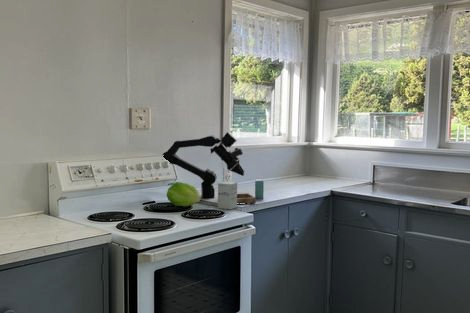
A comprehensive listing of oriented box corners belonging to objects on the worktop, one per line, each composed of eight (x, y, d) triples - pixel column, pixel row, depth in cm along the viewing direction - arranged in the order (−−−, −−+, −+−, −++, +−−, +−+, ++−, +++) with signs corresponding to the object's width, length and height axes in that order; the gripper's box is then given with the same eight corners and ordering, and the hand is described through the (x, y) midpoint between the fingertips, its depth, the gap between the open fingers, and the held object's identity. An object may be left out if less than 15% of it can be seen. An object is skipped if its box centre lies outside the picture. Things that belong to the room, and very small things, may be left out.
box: (231, 204, 238) (231, 199, 238) (225, 199, 251) (224, 194, 250) (255, 203, 242) (255, 197, 241) (248, 198, 254) (248, 193, 254)
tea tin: (255, 198, 254) (255, 180, 253) (255, 197, 259) (255, 179, 258) (263, 198, 254) (263, 180, 253) (263, 197, 258) (263, 179, 257)
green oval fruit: (187, 212, 220) (187, 187, 219) (162, 206, 235) (161, 182, 233) (209, 208, 230) (209, 184, 229) (183, 202, 244) (183, 179, 243)
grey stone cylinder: (217, 208, 230) (217, 183, 229) (224, 205, 237) (224, 180, 236) (230, 209, 227) (230, 184, 226) (237, 207, 234) (237, 182, 232)
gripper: (233, 144, 244) (254, 165, 245) (234, 141, 263) (254, 161, 264) (218, 159, 245) (239, 180, 246) (220, 155, 264) (240, 175, 265)
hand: (243, 173), depth 255 cm, fingers open, 9 cm apart
